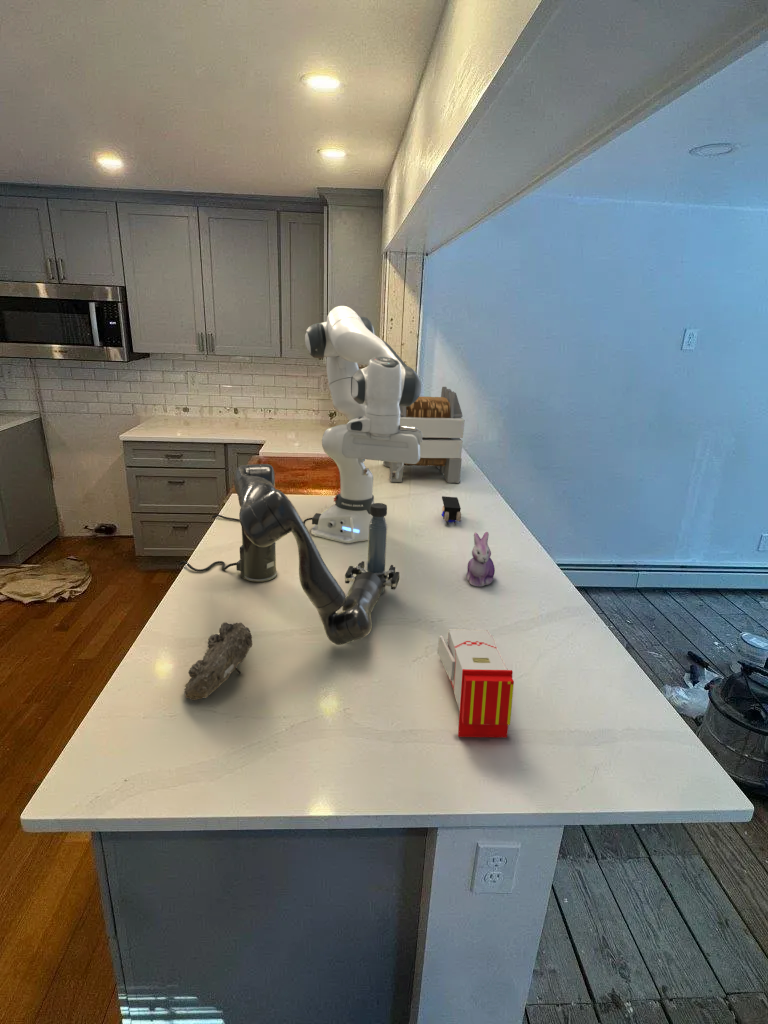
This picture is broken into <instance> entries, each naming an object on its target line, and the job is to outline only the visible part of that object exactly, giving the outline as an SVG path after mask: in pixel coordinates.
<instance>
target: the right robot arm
mask: <svg viewBox="0 0 768 1024" xmlns="http://www.w3.org/2000/svg"><path fill="white" fill-rule="evenodd" d="M304 345H305V347H306V349H307V351H308V353H309V355H310V356H311V357H312V358H314V359H324V358H326V359H325V362H326V363H325V365H326V366H325V367H326V378H327V382H328V388H329V392H330V396H331V401H332V405H333V408H334V409H335V411H336V412H337V413H339V414H341V415H343V416H344V417H346V419H347V420H348V422H347V423H344V424H343V423H342V424H337V425H335V426H332V427H329V428H327V429H325V431H324V432H323V435H322V437H321V447H322V450H323V452H324V453H325V455H326V456H328V457H329V458H330V459H332V461H333V462H334V463H335V465H336V466H337V470H338V472H339V482H340V484H339V485H340V488H339V489H340V490H339V491H338V492H337V494H336V495H335V496H334V497H333V502H334V504H333V505H331V506H329V507H328V508H326V509H325V510H323V512H321V513H318V512H316V513H315V514H314V515H313V516H312V517H308V518H305V519H304V520H302V521H303V523H304V525H305V526H306V522H307V521H311V525H313V526H312V528H311V530H310V533H311V534H310V535H311V536H315V537H319V538H323V539H326V540H330V541H336V542H339V543H343V544H352V543H357V542H365V541H368V536H369V524H370V521H371V519H372V517H373V516H372V515H371V514H370V510H371V504H374V503H375V496H374V474H373V472H372V471H371V469H370V468H369V467H366V465H365V463H364V462H365V461H366V460H369V461H376V462H377V461H378V462H384V461H387V462H397V467H399V468H398V469H397V471H393V472H392V479H398V478H399V471H400V470H401V468H402V467H403V465H404V463H407V464H416V463H417V462H418V461H419V460H420V444H421V442H422V432H421V431H420V430H419V429H417V428H416V427H407V426H400V407H399V406H408V407H409V406H410V405H412V404H413V403H414V402H415V401H416V400H417V399H418V397H421V396H420V395H421V392H422V382H421V378H420V376H419V375H418V373H417V372H416V371H415V370H414V369H413V368H412V367H410V366H409V365H407V364H406V363H405V362H404V360H403V359H402V358H401V357H400V355H398V354H397V352H396V351H395V350H394V348H392V346H390V344H389V343H388V342H387V341H386V340H384V339H382V338H380V337H379V336H377V335H376V334H375V329H374V325H373V324H372V321H371V320H370V319H369V318H368V317H366V316H360V315H358V313H357V312H356V311H355V310H354V309H353V308H351V307H349V306H346V305H338V306H335V307H333V308H332V309H331V310H330V311H329V312H328V314H327V317H326V321H323V322H316V323H313V324H311V325H309V326H308V327H307V328H306V330H305V335H304ZM358 364H364V365H367V366H365V367H363V368H359V365H358ZM416 431H419V432H416ZM404 466H405V465H404ZM211 518H212V519H215V518H222V519H224V520H231V521H235V522H240V519H239V518H235V517H234V518H233V517H230V516H224V515H221V514H214V515H212V516H211Z"/></svg>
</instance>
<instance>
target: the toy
mask: <svg viewBox="0 0 768 1024" xmlns="http://www.w3.org/2000/svg"><path fill="white" fill-rule="evenodd" d="M446 640H447V643H446V641H445V639H444V636H443V635H442V634H439V637H438V646H437V656H438V657H439V659H440V661H441V663H442V666H443V668H444V670H445V672H446V674H447V677H448V679H449V681H450V684H451V687H452V690H453V693H454V697H455V701H456V705H457V708H458V711H459V714H458V715H459V716H458V730H457V731H458V732H457V737H458V738H508V731H509V726H510V725H511V717H512V707H513V697H514V696H513V695H514V684H515V680H514V679H513V673H514V671H513V670H512V669H508V667H507V665H506V662H505V661H504V659H503V658H502V655H501V653H500V651H499V649H498V647H497V643H496V639H495V637H494V635H493V634H491V632H490V631H489V629H467V628H466V629H465V628H463V629H461V628H460V629H459V628H448V630H447V639H446Z"/></svg>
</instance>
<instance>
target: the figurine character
mask: <svg viewBox="0 0 768 1024" xmlns="http://www.w3.org/2000/svg"><path fill="white" fill-rule="evenodd" d="M441 500H442V504H443V506H442V507H441V511H442V513H441V516H442V519H443V520H444V522H445V523H446V525H447V526H450V525H449V523H453V525H454V526H457V522H461V519H462V512H461V510H462V508H461V505H460V502H459V501H460V500H459V499H458V497H457V496H443V495H442V496H441Z"/></svg>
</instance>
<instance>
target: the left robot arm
mask: <svg viewBox="0 0 768 1024" xmlns="http://www.w3.org/2000/svg"><path fill="white" fill-rule="evenodd" d="M274 470H275V469H274V467H273V466H272V465H271V464H269V463H255V464H254V463H252V464H241V465H239V466H237V467H236V468H235V471H234V474H233V486H234V490H235V493H236V495H237V498H238V504H239V508H240V509H239V514H238V515H239V516H238V519H240V521H239V523H240V526H241V543H242V545H241V546H239V560H238V561H236V562H233V563H229V564H227V565H226V563H225V561H222V560H218V561H214V562H212V563H211V564H210V565H208V566H207V567H205V568H201V569H200V568H195V567H193V566H192V565H191V564H190V563H189V562H188V561H186V560H182V561H180V562H179V563H178V565H179V566H180V565H183V564H185V565H186V564H187V563H188V564H187V565H186V566H187V567H188V568H189V569H191V570H192V571H194V572H197V573H202V572H203V573H204V572H206V571H208V570H210V569H211V568H213V567H214V566H215V565H218V564H221V570H222V571H225V570H227V569H229V568H230V567H233V566H236V571H238V572H240V578H241V579H244V580H246V581H248V582H253V583H265V582H268V581H269V582H270V581H271V580H274V579H275V578H276V577H277V554H276V553H277V551H276V542H277V541H279V540H281V539H282V538H284V537H285V536H287V535H288V534H289V533H292V535H293V537H294V538H295V541H296V544H297V550H298V576H299V578H298V579H299V583H300V586H301V588H302V590H303V593H304V594H305V595H306V596H307V598H308V599H309V601H310V602H311V603H312V605H313V606H314V608H315V609H316V610H317V613H318V615H319V617H320V618H319V619H320V621H321V623H322V626H323V630H324V633H325V636H326V638H327V639H328V641H330V643H332V644H334V645H336V646H342V645H346V644H348V643H350V642H354V641H357V640H360V639H363V638H364V637H365V638H366V636H368V635H369V634H370V632H371V631H372V628H373V623H372V611H373V609H374V607H375V606H376V604H377V603H378V601H379V599H380V596H381V594H380V593H381V591H382V588H384V589H385V587H390V590H394V591H395V590H396V589H397V586H398V584H399V582H400V572H399V571H396V566H394V564H390V566H389V568H388V570H385V571H382V572H379V573H373V572H367V569H365V564H366V562H365V561H364V560H362V561H361V562H359V563H358V564H357V565H355V567H354V566H353V565H349V566H348V568H347V570H346V572H345V574H344V583H345V584H350V582H351V583H352V584H351V586H350V588H349V589H348V592H347V594H346V593H345V591H344V589H343V588H342V587H341V586H340V584H339V582H338V581H337V580H336V578H335V576H334V575H333V574H332V571H330V569H329V568H328V566H327V565H326V563H325V561H324V559H323V557H322V555H321V553H320V551H319V549H318V547H317V545H316V543H315V541H314V540H313V538H312V535H311V534H310V532H309V530H308V527H306V524H305V525H304V523H303V521H304V520H303V519H302V518H301V516H300V514H299V512H298V510H297V509H296V507H295V506H294V504H293V503H292V501H291V500H290V499H289V497H288V496H287V495H286V494H285V493H284V492H282V491H281V490H279V489H276V476H275V475H276V474H275V471H274ZM354 575H355V576H354ZM340 609H341V611H340V612H338V611H339V610H340Z"/></svg>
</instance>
